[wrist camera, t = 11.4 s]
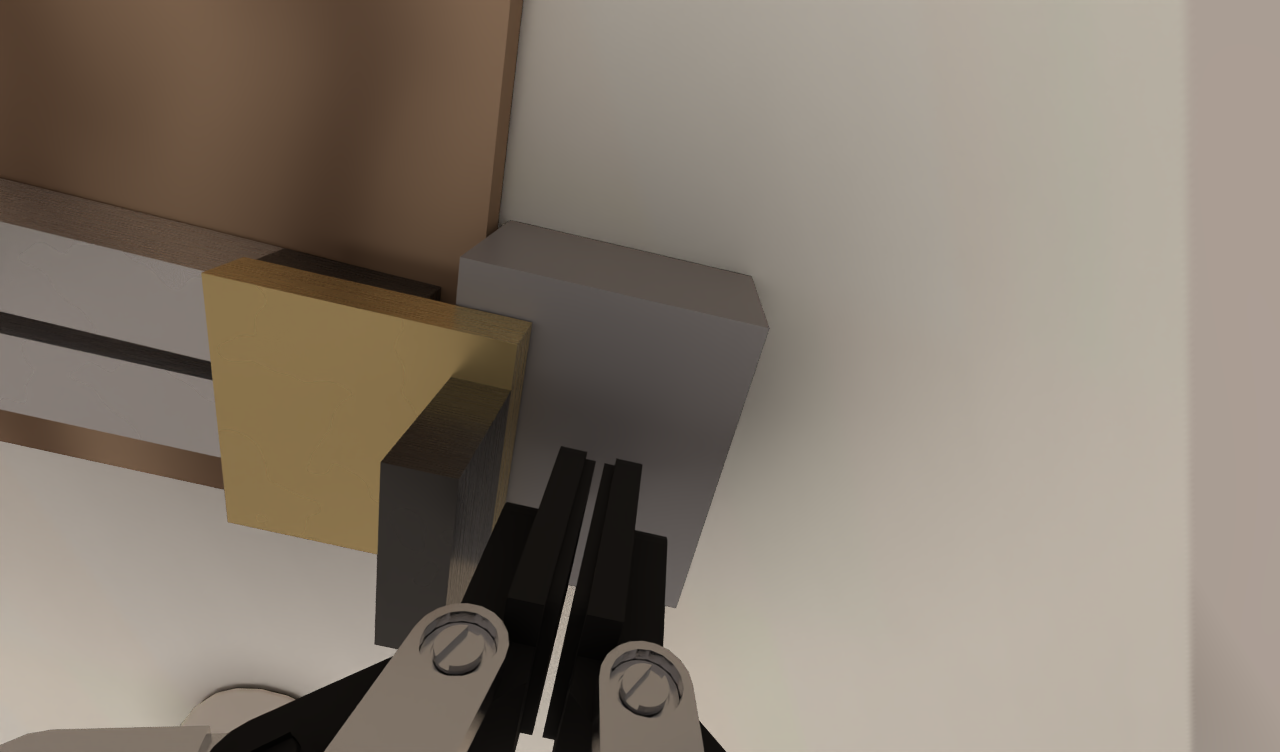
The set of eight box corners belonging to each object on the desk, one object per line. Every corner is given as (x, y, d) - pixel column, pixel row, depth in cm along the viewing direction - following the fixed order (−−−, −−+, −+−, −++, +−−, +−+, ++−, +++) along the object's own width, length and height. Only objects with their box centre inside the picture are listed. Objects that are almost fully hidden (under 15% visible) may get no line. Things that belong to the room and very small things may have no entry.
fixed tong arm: (-236, 297, 17) (-374, 327, 15) (-271, 218, 16) (-423, 238, 14) (428, 444, 17) (391, 494, 15) (432, 377, 16) (394, 420, 14)
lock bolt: (261, 490, 15) (115, 626, 11) (243, 256, 12) (46, 329, 9) (499, 542, 15) (436, 694, 11) (532, 322, 12) (464, 423, 9)
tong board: (-279, 356, 19) (-327, 370, 18) (-702, -493, 11) (-822, -543, 10) (465, 519, 20) (454, 539, 19) (543, -179, 12) (531, -201, 11)
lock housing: (479, 471, 19) (434, 555, 16) (510, 220, 16) (459, 257, 12) (678, 515, 19) (676, 608, 16) (751, 276, 16) (769, 328, 12)
